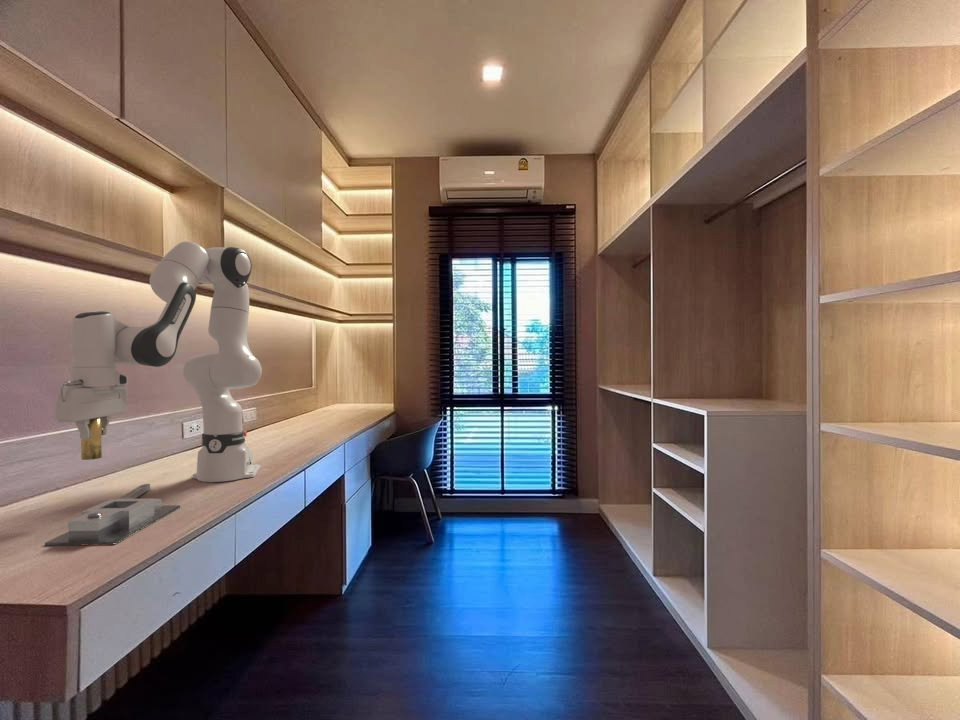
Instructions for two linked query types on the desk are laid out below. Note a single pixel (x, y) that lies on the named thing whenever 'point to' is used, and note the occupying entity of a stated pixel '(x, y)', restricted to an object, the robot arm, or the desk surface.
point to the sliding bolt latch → (112, 521)
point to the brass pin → (92, 441)
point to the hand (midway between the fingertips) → (93, 436)
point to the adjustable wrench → (136, 492)
